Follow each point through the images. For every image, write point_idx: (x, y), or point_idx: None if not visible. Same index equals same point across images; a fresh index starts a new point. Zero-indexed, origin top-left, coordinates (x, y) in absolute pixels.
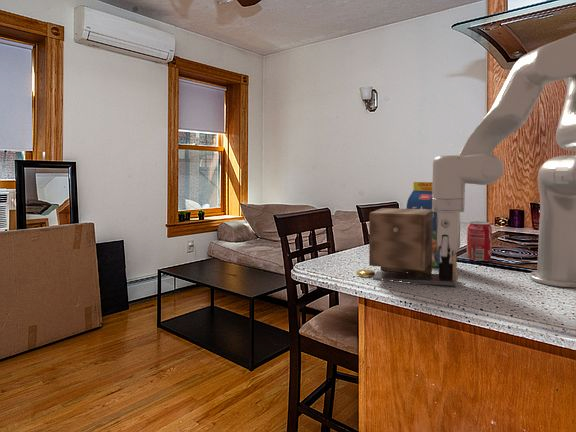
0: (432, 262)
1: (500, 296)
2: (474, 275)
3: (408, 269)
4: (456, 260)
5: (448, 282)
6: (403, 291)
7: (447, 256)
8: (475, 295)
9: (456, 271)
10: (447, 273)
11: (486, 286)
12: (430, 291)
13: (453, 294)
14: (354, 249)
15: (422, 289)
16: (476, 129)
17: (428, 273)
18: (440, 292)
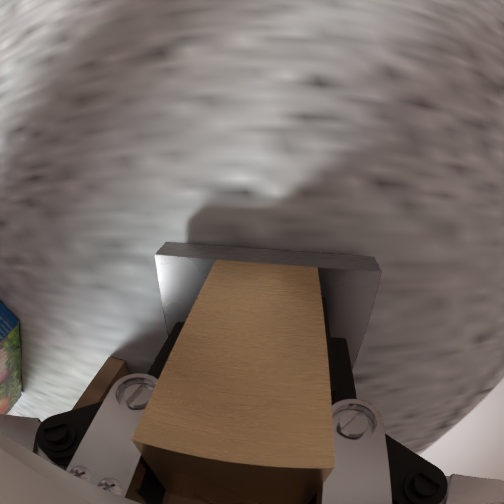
0: (9, 347)
1: (454, 9)
2: (28, 151)
3: None
4: (187, 369)
5: (370, 310)
6: (435, 425)
7: (453, 495)
8: (487, 143)
9: (261, 297)
10: (344, 357)
11: (248, 43)
12: (442, 360)
13: (486, 262)
14: None
15: (412, 389)
16: None
17: (125, 374)
18: (458, 322)
